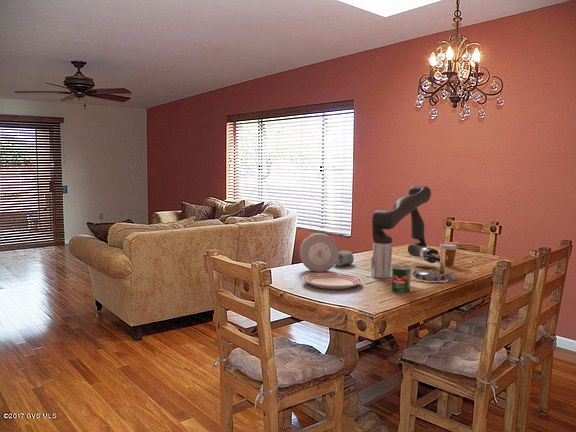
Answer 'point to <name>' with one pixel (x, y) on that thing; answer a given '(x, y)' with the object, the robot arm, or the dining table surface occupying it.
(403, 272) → the canned tomato
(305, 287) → the dining table surface
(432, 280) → the sprocket base plate
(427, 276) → the sprocket
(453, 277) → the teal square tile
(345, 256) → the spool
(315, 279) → the dinner plate
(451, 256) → the disposable coffee cup
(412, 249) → the robot arm
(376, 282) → the dining table surface
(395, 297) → the dining table surface
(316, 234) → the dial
